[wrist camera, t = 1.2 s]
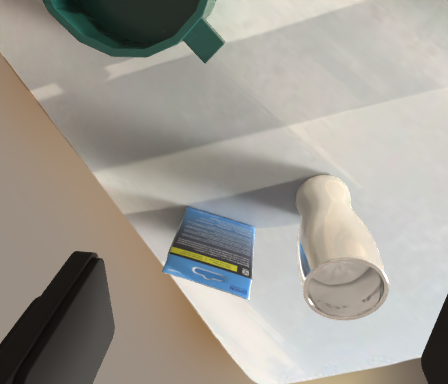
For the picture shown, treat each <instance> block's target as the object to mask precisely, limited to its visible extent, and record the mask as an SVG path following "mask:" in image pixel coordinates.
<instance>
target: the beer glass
mask: <svg viewBox="0 0 448 384" xmlns="http://www.w3.org/2000/svg"><path fill="white" fill-rule="evenodd" d="M295 203H296V207H297V210H298V212H299V214H300V216H301V223H300V228H299V233H298V240H297V262H298V269H299V275H300V279H301V284H302V288H303V295H304V298H305V301H306V302H307V304H308V305H309V307H310V308H311V309H312V310H314V311H315V312H316V313H318V314H320V315H322V316H324V317H327V318H330V319H335V320H353V319H358V318H362V317H365V316H367V315H369V314H371V313H373V312H374V311H376V310H377V309H378V308H379V307H380V306H381V305H382V304H383V303H384V301H385V300H386V298H387V295H388V291H389V283H388V280H387V277H386V275H385V271H384V267H383V263H382V260H381V256H380V254H379V251H378V248H377V245H376V243H375V241H374V239H373V237H372V235H371V233H370V232H369V230H368V229H367V227H366V226H365V224H364V223H363V222H362V220H361V219H360V218H359V216H358V215H357V214H356V213H355V212H354V210H353V209H352V208H351V199H350V192H349V189H348V187H347V186H346V184H345V183H344V182H343V181H342V180H340V179H339V178H337V177H334V176H331V175H317V176H314V177H311V178H309V179H307V180H306V181H305V182H303V183H302V184H301V186H300V187H299V188H298V190H297V193H296V197H295Z"/></svg>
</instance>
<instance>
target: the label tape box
mask: <svg viewBox="0 0 448 384" xmlns="http://www.w3.org/2000/svg"><path fill="white" fill-rule="evenodd" d="M254 240H255V227H252V226H249V225H246V224H242V223H239V222H236V221H233V220H230V219H226V218H223V217H220V216H216V215H213V214H210V213H207V212H203V211H200V210H197V209H194V208H190V207H187V208H186V210H185V213H184V215H183V218H182V220H181V223H180V225H179V228H178V230H177V233H176V235H175V238H174V240H173V242H172V245H171V247H170V249H169V252H168V257H167V261H166V263H165V266H164V268H163V271H162V272H163V273H167V274H170V275H174V276H177V277H181V278H184V279H187V280H190V281H193V282H196V283H199V284H202V285H205V286H208V287H211V288H214V289H217V290H221V291H224V292H227V293H230V294H233V295H236V296H239V297H242V298H244V299H246V300H248V301H249V298H250V290H251V289H250V288H251V282H252V280H253V256H254Z"/></svg>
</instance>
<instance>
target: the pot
mask: <svg viewBox="0 0 448 384" xmlns="http://www.w3.org/2000/svg"><path fill="white" fill-rule="evenodd" d="M43 2H44V4H45V6H46V8H47V10H48V11H49V13H50V14H51V15H52V16H53V17H54V18H55V19H56V20H57V21H58V22H59V23H60V24H61V25H63V26H64V27H65V28H66V29H67V30H68V31H69V32H70V33H71V34H72V35H73V36H74V37H75V38H76V39H77V40H78V41H79V42H81V43H84V44H86V45H88V46H90V47H92V48H95V49H97V50H99V51H101V52H103V53H106V54H108V55H110V56H113V57H149V56H151V55H154V54H156V53H158V52H160V51H163V50H165V49H167V48H170V47H172V46H174V45H176V44H178V43H180V42H182V41H184V42H185V43H186V44H187V45H188V46H189V47H190V48H191V49H192V50H193V51H194V53H195V54H196V55H197V56H198V57H199V58H200V59H201V60H202V61H203V62H204V63H206V62H207V61H208V60H209V59H210V58H211V57H212V56H213V55H214V54H215V53H216V52H217V51H218V50H219V49H220V48H221V47H222V46H223V45H224V44H225V41H224V40H223V39H222V38H221V36H220V35H219V34H218V33H217V32H216V31H215V30H214V29H213V28H212V26H211V25H210V24H209V23H208V22H207V21H206V20H205V19H206V18H207V17H208V16H209V15H210V14H211V12H212V10H213V8H214V5H215V2H216V0H43Z"/></svg>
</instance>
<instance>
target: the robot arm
mask: <svg viewBox="0 0 448 384" xmlns="http://www.w3.org/2000/svg"><path fill="white" fill-rule="evenodd" d="M114 327H115V326H114V320H113V314H112V307H111V301H110V295H109V290H108V283H107V277H106V271H105V265H104V261H103V259H101V258H98V255H97V254H96V253H92V252H80V251H75V252H73V254H71V256H70V257H69V258H68V260H67V261H66V262H65V264H64V265H63V266H62V268H61V269H60V271H59V272H58V273H57V275H56V276H55V277H54V279H53V280H52V281H51V283H50V284H49V285H48V287H47V288H46V290H45V291H44V292H43V294H42V295H41V296H39V297H38V298H36V299H35V300H34V301H33V302H32V303H31V304H30V305H29V307H28V308H27V309H26V311H25V312H24V313H23V315H22V316H21V317H20V318H19V320H18V321H17V322H16V324H15V325H14V327H13V328H12V329H11V330H10V332H9V333H8V334H7V336H6V337H5V338H4V340H3V341H2V342H1V344H0V384H93V381H94V379H95V377H96V375H97V372H98V370H99V368H100V366H101V363H102V361H103V359H104V357H105V354H106V352H107V350H108V347H109V345H110V343H111V341H112V338H113V335H114ZM421 363H422V364H421V365H422V369H423V372H424V374H425V377H426V379H427V381H428V384H448V294H447V297H446V299H445V302H444V304H443V306H442V309H441V311H440V314H439V316H438V318H437V321H436V323H435V325H434V328H433V330H432V333H431V335H430V337H429V340H428V342H427V344H426V347H425V349H424V352H423V354H422V357H421Z"/></svg>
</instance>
